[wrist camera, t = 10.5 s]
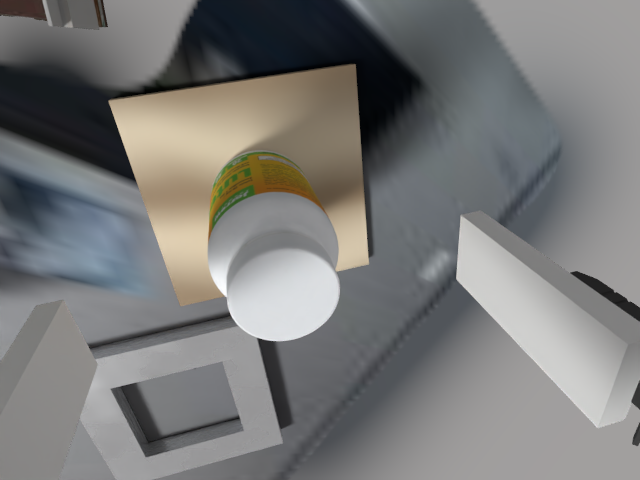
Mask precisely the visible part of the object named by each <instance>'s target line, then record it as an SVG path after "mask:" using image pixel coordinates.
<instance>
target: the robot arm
mask: <svg viewBox="0 0 640 480" xmlns="http://www.w3.org/2000/svg"><path fill="white" fill-rule="evenodd" d="M456 279H457V280H458V281H459V282H460V283H461V285H462V286H463V287H464V288H465V289H467V291H468V292H469V293H470V294H471V295H472V296H473V297H474V298H475V299H476V300H477V301H478V303H479V304H480V305H481V306H482V307H483V308H484V309H485V310H486V311H487V312H488V313H489V314H490V315H491V316H492V317H493V318H494V319H495V320H496V321H497V322H498V324H499V325H500V326H501V327H502V328H503V329H504V330H505V331H506V332H507V333H508V334H509V335H510V336H511V337H512V338H513V339H514V340H515V341H516V343H517V344H518V345H519V346H520V347H521V348H522V349H523V350H524V351H525V352H526V353H527V354H528V355H529V356H530V357H531V358H532V359H533V360H534V361H535V362H536V363H537V364H538V366H539V367H540V368H541V369H542V370H543V371H544V372H545V373H546V374H547V375H548V376H549V377H550V378H551V379H552V380H553V381H554V382H555V383H556V384H557V386H558V387H559V388H560V389H561V390H562V391H563V392H564V393H565V394H566V395H567V396H568V397H569V398H570V399H571V400H572V401H573V403H575V405H576V406H577V407H578V408H579V409H580V410H581V411H582V412H583V413H584V414H585V415H586V416H587V417H588V418H589V419H590V420H591V421H592V422H593V424H594V425H595V426H596V427H597V428H600V427H603V426H606V425H609V424H612V423H616V422H619V421H622V420H625V418H626V416H627V413H628V411H629V408H630V406H631V404H632V403H633V404H634V405H635V406H637V407H638V408H639V409H640V308H639V307H638V306H637V305H635V304H634V303H632V302H628V301H627V299H626V298H625V297H623V296H622V295H620V294H619V293H617V292H616V293H614V290H613V289H611V288H609V287H608V286H607V285H605V284H604V283H602V282H601V281H599V280H598V279H595V278H593V277H590V276H588V275H585V274H583V273H580V272H578V271H575V272H571V273H569V272H568V271H566V270H565V269H563V268H562V267H561V266H559V265H558V264H556V263H555V262H553V261H552V260H550V259H549V258H548V257H546V256H545V255H543V254H542V253H541V252H539V251H538V250H536V249H535V248H533V247H532V246H531V245H529V244H528V243H526V242H525V241H523V240H522V239H521V238H519V237H517V236H516V235H515V234H513V233H512V232H511V231H509V230H508V229H506V228H505V227H503V226H502V225H500V224H499V223H498V222H496V221H495V220H493V219H492V218H490V217H489V216H488V215H486V214H485V213H483V212H482V211H477V212H472V213H467V214H463V215H461V220H460V234H459V248H458V262H457V276H456ZM97 366H98V364H97V362H96V360H95V358H94V356H93V354H92V352H91V351H90V349H89V347H88V345H87V343H86V341H85V339H84V338H83V336H82V334H81V332H80V330H79V328H78V326H77V324H76V323H75V321H74V319H73V317H72V315H71V313H70V311H69V309H68V308H67V306H66V304H65V302H64V300H60V301H55V302H51V303H46V304H41V305H37V306H36V307H35V308H34V310H33V312H32V313H31V315H30V316H29V318H28V319H27V321H26V323H25V324H24V326H23V327H22V329H21V331H20V332H19V334H18V335H17V337H16V339H15V340H14V342H13V343H12V345H11V346H10V348H9V350H8V351H7V353H6V354H5V356H4V358H3V359H2V361H1V362H0V480H59V478H60V475H61V472H62V469H63V466H64V463H65V460H66V457H67V454H68V451H69V448H70V445H71V442H72V439H73V436H74V434H75V431H76V428H77V425H78V422H79V419H80V416H81V413H82V410H83V407H84V404H85V401H86V398H87V395H88V392H89V389H90V387H91V384H92V381H93V378H94V375H95V372H96V369H97ZM639 443H640V423H639V425H638V428H637V430H636V433H635V434H634V437H633V443H632V444H633V445H636V446H638V445H639Z"/></svg>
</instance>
